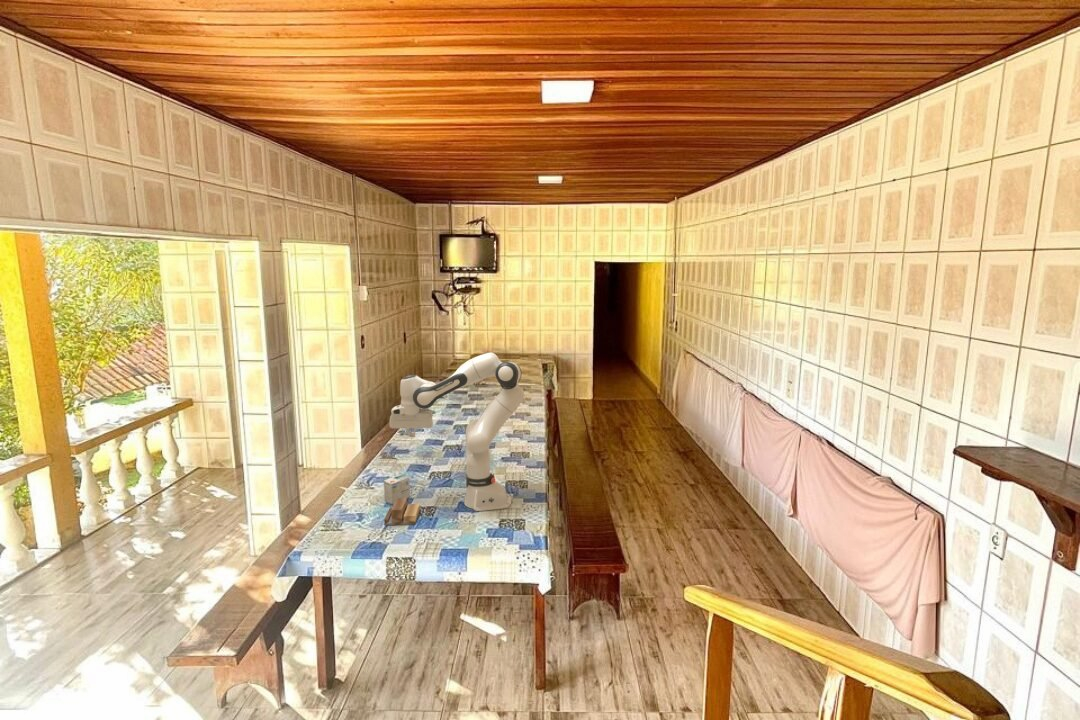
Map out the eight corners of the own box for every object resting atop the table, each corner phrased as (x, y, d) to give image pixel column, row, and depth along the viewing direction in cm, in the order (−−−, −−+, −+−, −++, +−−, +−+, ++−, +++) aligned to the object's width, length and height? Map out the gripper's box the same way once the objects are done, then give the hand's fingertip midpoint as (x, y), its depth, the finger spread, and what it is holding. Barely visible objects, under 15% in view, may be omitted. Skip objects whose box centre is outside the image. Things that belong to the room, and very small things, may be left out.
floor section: (419, 511, 257) (419, 503, 256) (415, 524, 244) (414, 516, 244) (390, 511, 256) (390, 503, 256) (384, 525, 244) (383, 517, 243)
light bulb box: (402, 493, 276) (401, 473, 274) (410, 497, 272) (409, 476, 270) (384, 501, 268) (382, 480, 266) (392, 504, 264) (391, 483, 261)
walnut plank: (407, 510, 256) (406, 497, 255) (402, 522, 244) (401, 509, 243) (397, 510, 256) (396, 498, 255) (392, 522, 244) (391, 510, 243)
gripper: (433, 406, 267) (434, 434, 270) (390, 407, 266) (392, 434, 269) (431, 410, 261) (432, 438, 263) (387, 410, 260) (389, 439, 262)
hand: (411, 436), depth 266 cm, fingers closed
